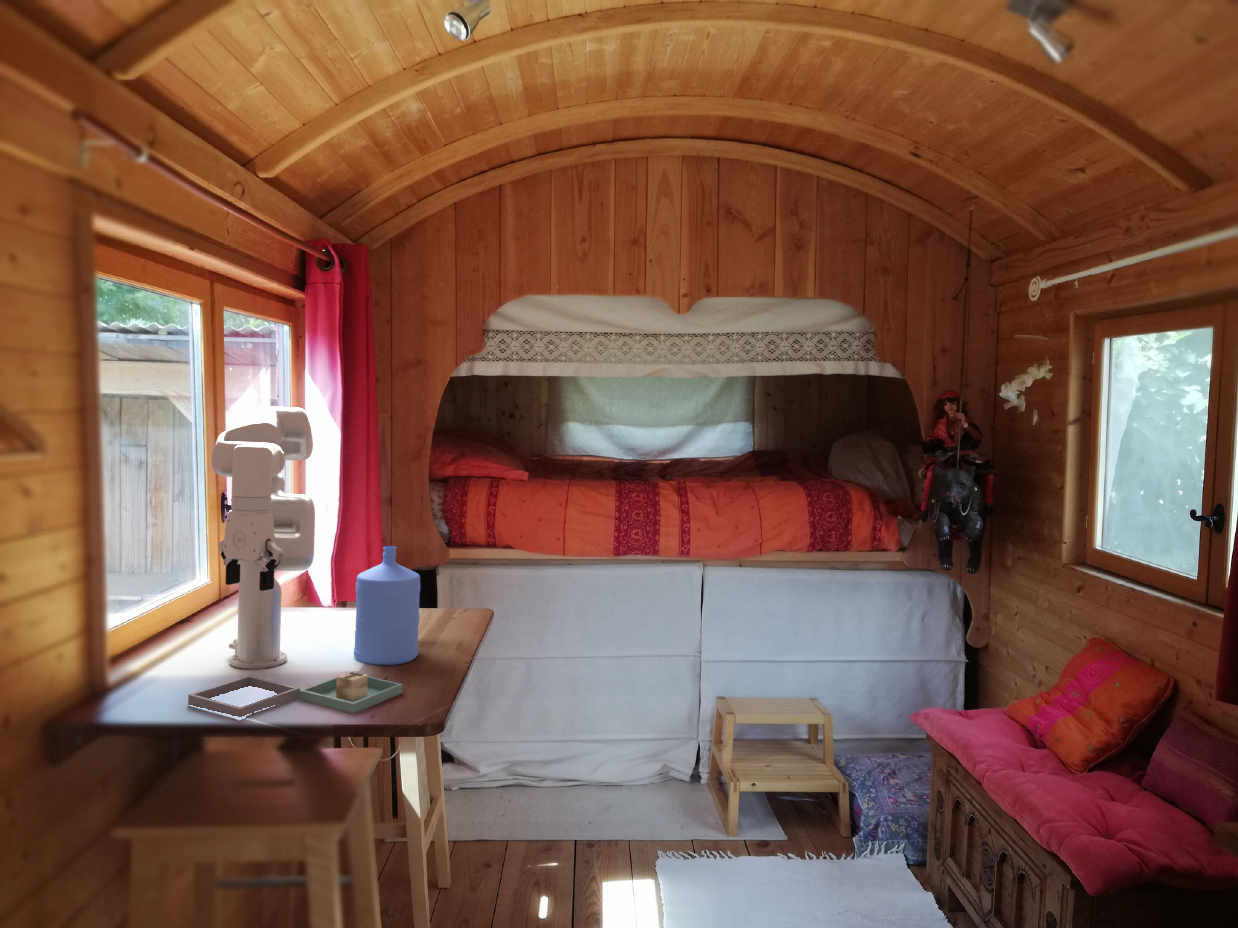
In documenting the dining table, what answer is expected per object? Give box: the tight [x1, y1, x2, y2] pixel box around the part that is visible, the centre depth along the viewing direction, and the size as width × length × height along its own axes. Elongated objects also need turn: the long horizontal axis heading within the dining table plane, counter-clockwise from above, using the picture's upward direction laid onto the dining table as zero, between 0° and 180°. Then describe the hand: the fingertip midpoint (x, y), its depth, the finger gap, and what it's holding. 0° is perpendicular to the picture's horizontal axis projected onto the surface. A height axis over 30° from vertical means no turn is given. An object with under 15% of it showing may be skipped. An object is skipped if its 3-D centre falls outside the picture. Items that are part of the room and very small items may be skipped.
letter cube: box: [336, 670, 369, 701], centre depth 180 cm, size 4×4×5 cm
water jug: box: [353, 545, 421, 666], centre depth 209 cm, size 16×16×28 cm
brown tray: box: [187, 675, 300, 717], centre depth 174 cm, size 15×15×2 cm
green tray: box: [298, 675, 403, 715], centre depth 180 cm, size 15×15×2 cm
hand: (249, 586), depth 173 cm, fingers open, 9 cm apart
